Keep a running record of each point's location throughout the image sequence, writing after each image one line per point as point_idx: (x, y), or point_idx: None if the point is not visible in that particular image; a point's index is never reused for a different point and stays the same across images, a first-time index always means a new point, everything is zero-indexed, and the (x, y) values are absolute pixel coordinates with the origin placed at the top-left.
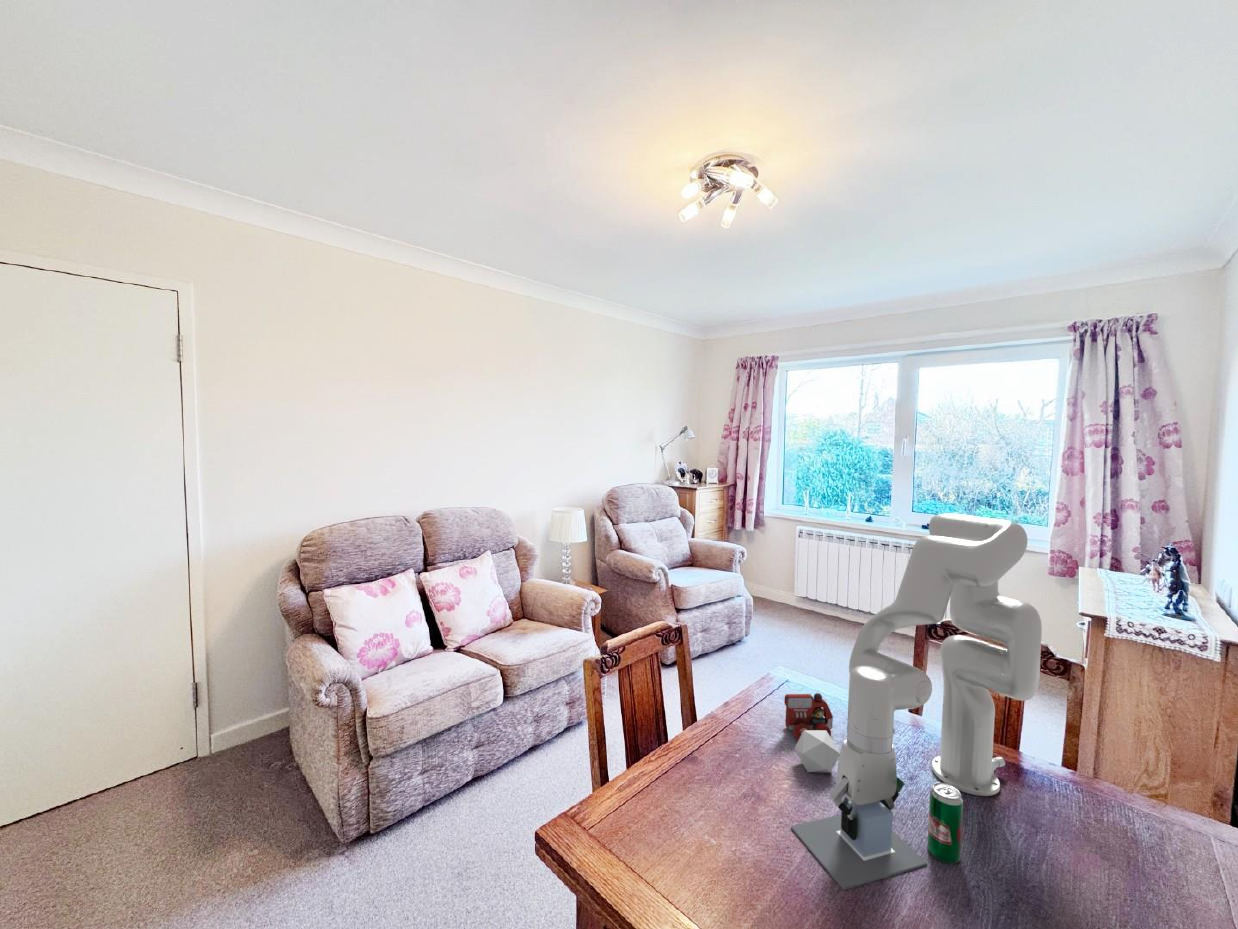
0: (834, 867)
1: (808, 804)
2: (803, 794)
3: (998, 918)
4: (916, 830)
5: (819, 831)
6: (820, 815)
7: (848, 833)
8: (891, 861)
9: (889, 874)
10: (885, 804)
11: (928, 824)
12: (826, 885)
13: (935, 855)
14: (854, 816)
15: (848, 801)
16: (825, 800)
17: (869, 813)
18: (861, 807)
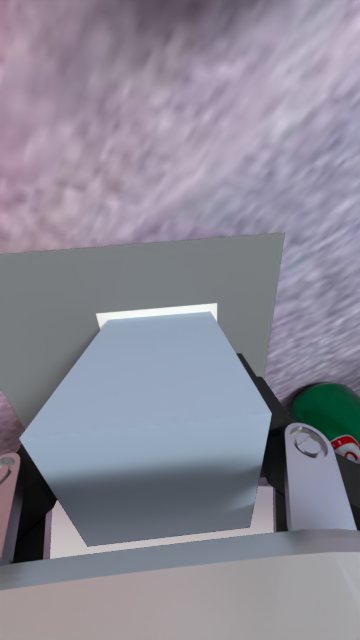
0: (33, 409)
1: (53, 128)
2: (51, 23)
3: (264, 485)
4: (337, 339)
5: (35, 302)
6: (82, 217)
7: None
8: None
9: None
10: (273, 484)
11: (354, 451)
12: (3, 428)
13: (291, 417)
14: (50, 512)
15: (15, 529)
16: (153, 122)
17: (130, 530)
18: (113, 506)
